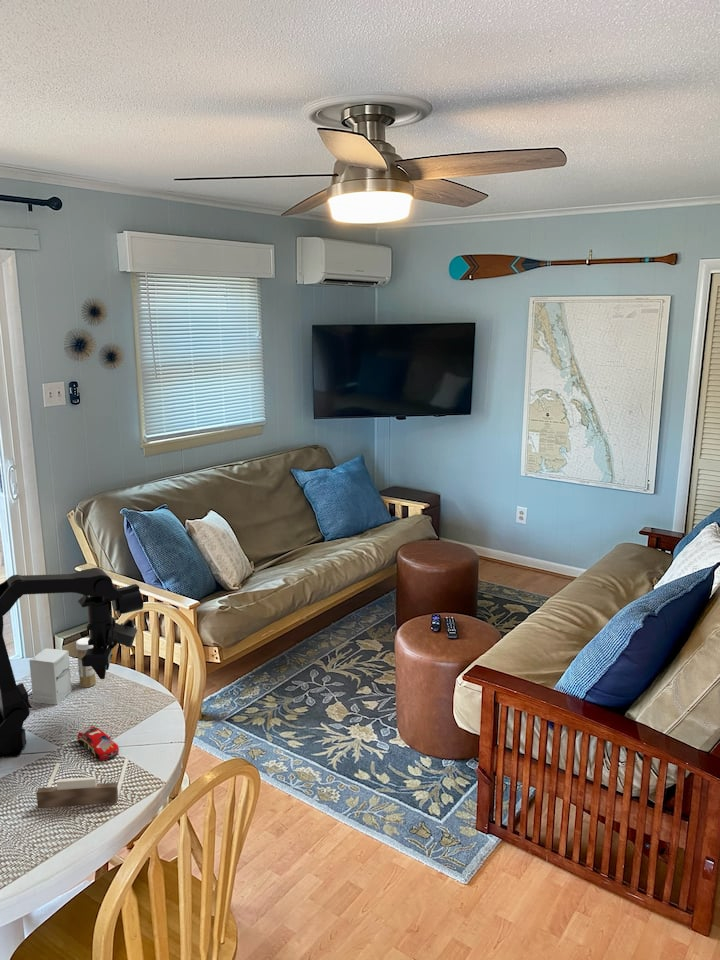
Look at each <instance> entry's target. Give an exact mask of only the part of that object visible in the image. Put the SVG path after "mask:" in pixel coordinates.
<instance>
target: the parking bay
mask: <svg viewBox="0 0 720 960" xmlns="http://www.w3.org/2000/svg"><path fill="white" fill-rule="evenodd" d="M129 760H130V758H128V757H127V758H124V762H123V765H122V769H121V771H120V772H121V773H120V775H119V776H120V777H119V779H118V782H107V783H105V782H104V783H97V776H91V777H78V778H61V779H60V778H59V779H57V780H56V786H52V785H53V782H54V780H55V778H56V776H57V773H58V771H59V768H60V767H61V766H60V765H61V762H57V763H56V764H55V766H54V769H53V770H52V773H51V776H50V778H49V780H48V782H47V785H46V787H38V788H37V790H36V802H37V809H38V808H41V809H49V808H50V809H53V808H66V807H67V808H68V807H77V806H80V805H81V806H91V805H92V806H93V805H104V804H105V805H106V804H117V803H118V800H119V797H120V792H121V789H122V786H123V781H124V780H125V779H124V778H125V774H126V770H127V767H128V763H129Z"/></svg>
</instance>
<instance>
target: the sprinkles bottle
mask: <svg viewBox="0 0 720 960" xmlns="http://www.w3.org/2000/svg"><path fill="white" fill-rule="evenodd" d="M89 638H90V637H81V638H80V639H78V640H76V642H75V648H76V653H77V667H78V669H77V670H78V677H79V686H80V687H82V688H91V687H93V686H95V685H96V683H97V679H96V672H95V671H94V669H93V668H92V667H91V666H87V667H84V666H82V657H83V655H84V653H85V651H86V650H87V649H93V645H88V640H89Z"/></svg>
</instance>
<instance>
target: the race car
mask: <svg viewBox="0 0 720 960" xmlns="http://www.w3.org/2000/svg"><path fill="white" fill-rule="evenodd" d="M77 742H78V744H79V746H80V747H81V748H83V749H85V750H86V752H88V753H90V754H91V755H92V756H93V757H95V758H96V760H98V761H99V762H100V761H107V760H111V759H112V758H114V757H116V756H117V755H118V754H119V752H120V748H119V745H118V744H117V743H116V742H115V741H114V740H113V739H112V735H107V733H105V732H104V731H103V730H101V729H100V728H98V727H96V726H92V725H91V726H90V725H89V726H87V727H85V728H83V729H81V730H79V732H78V734H77Z"/></svg>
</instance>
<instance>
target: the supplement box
mask: <svg viewBox="0 0 720 960" xmlns="http://www.w3.org/2000/svg"><path fill="white" fill-rule="evenodd" d="M29 668H30V669H29V670H30V682H31V690H32V691H31V693H32V702H34V703H42V704H46V705H54V706H57V705H58V704H59V703H60V702H61V701H62V700H63V699H64V698H66V696H68V695H69V694H70V693H72V680H71V668H70V654H69V650H64V649H57V648H56V649H55V648H47V647H45V648H44V649H43V650H41V651H40V652H39V653H37V654H35V656H33V657H32V658H30V659H29Z"/></svg>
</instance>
